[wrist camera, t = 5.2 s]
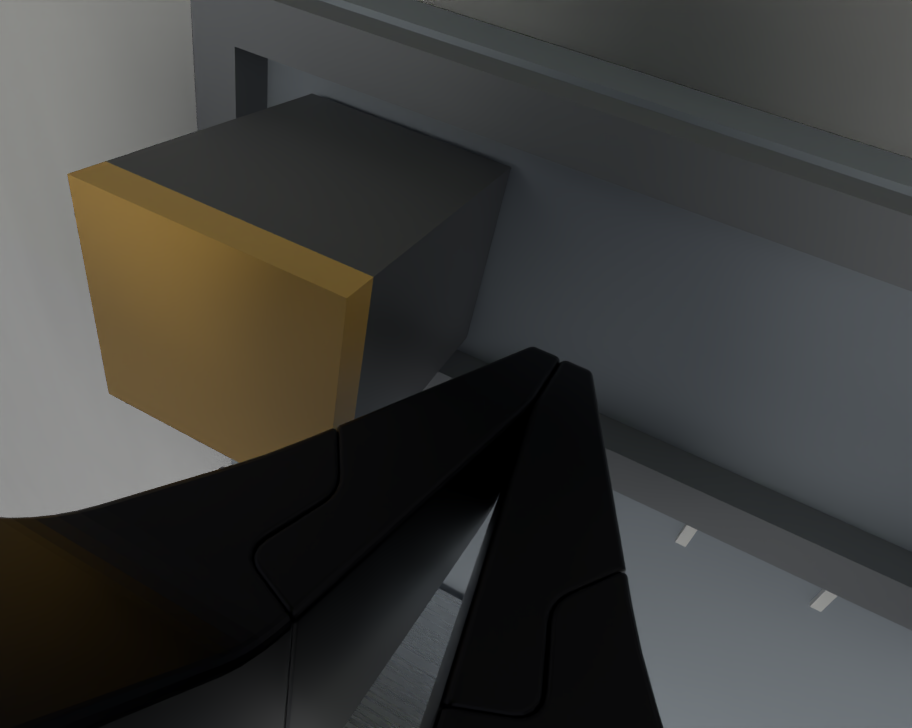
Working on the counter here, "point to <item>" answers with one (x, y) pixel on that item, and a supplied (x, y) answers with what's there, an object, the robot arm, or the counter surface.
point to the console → (669, 333)
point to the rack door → (410, 670)
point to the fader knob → (283, 270)
